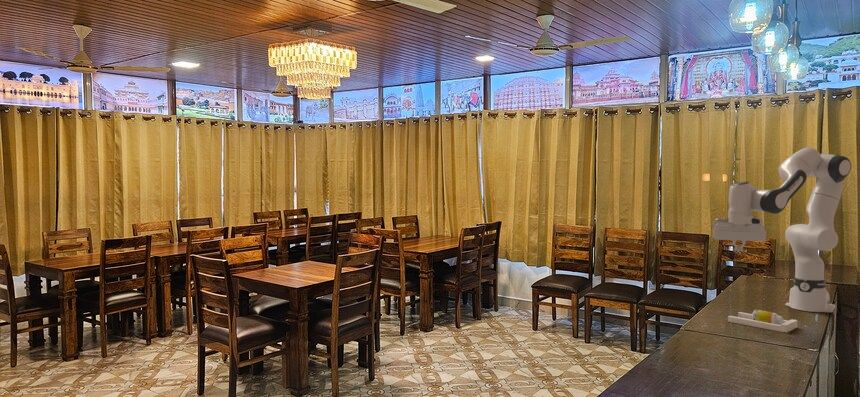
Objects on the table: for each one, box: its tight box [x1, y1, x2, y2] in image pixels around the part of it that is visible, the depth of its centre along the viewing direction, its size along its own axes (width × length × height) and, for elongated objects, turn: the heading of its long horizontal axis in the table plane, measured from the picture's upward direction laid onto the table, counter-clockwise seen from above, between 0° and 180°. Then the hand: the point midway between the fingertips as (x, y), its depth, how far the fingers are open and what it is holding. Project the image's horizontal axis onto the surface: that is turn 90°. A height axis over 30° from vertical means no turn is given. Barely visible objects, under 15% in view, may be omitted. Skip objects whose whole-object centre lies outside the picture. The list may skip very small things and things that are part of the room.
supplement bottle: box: [751, 309, 784, 325], centre depth 232 cm, size 6×6×10 cm
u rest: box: [727, 311, 798, 334], centre depth 233 cm, size 12×22×3 cm, turn 39°
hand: (738, 250), depth 244 cm, fingers closed
